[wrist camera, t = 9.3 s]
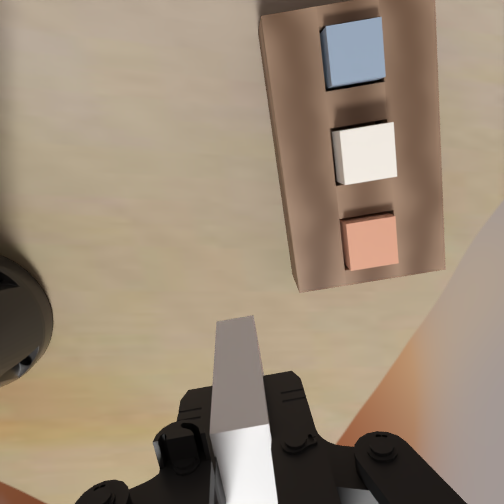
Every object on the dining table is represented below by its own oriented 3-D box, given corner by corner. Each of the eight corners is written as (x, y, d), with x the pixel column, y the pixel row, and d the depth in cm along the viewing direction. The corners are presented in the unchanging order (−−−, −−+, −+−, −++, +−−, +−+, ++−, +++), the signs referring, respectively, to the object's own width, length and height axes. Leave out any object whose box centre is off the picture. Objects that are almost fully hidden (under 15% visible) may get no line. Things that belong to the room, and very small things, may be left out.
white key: (337, 181, 37) (345, 185, 35) (331, 131, 36) (339, 130, 33) (385, 173, 37) (397, 176, 34) (381, 123, 36) (393, 122, 33)
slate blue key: (324, 89, 36) (331, 85, 34) (318, 35, 35) (325, 26, 32) (374, 81, 36) (385, 76, 33) (369, 26, 35) (381, 16, 32)
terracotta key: (343, 261, 41) (350, 270, 38) (338, 218, 39) (346, 224, 37) (387, 254, 41) (398, 263, 38) (384, 210, 39) (395, 216, 36)
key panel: (292, 274, 45) (299, 292, 39) (258, 32, 38) (260, 15, 33) (421, 253, 45) (445, 269, 39) (407, 7, 38) (434, -15, 33)
